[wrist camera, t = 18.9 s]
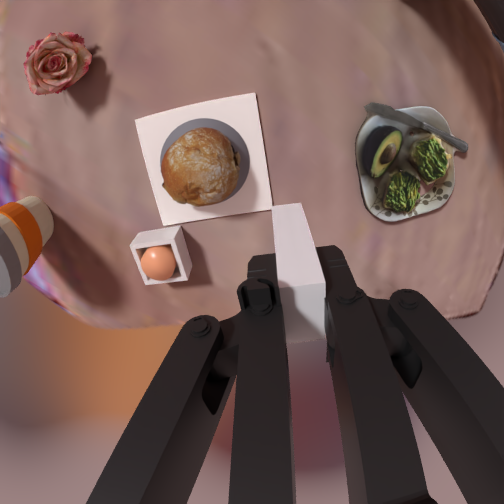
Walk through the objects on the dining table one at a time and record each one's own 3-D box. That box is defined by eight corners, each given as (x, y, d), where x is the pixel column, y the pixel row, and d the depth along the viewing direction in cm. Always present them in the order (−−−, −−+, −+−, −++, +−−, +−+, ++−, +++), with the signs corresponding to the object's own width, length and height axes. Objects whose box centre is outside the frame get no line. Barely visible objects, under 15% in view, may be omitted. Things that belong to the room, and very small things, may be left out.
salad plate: (455, 93, 30) (474, 96, 26) (462, 200, 38) (478, 211, 34) (342, 105, 33) (353, 107, 29) (363, 224, 42) (373, 239, 38)
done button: (142, 243, 41) (135, 253, 39) (173, 238, 41) (167, 248, 38) (153, 270, 44) (147, 282, 41) (182, 267, 43) (178, 278, 41)
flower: (34, 101, 29) (28, 107, 24) (26, 48, 23) (18, 44, 18) (92, 79, 33) (96, 81, 28) (86, 26, 27) (89, 18, 22)
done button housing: (138, 232, 42) (129, 245, 39) (180, 225, 42) (174, 238, 38) (152, 270, 46) (145, 284, 42) (192, 265, 45) (187, 280, 42)
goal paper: (135, 119, 33) (134, 120, 33) (255, 92, 32) (255, 92, 32) (164, 224, 42) (163, 226, 41) (272, 208, 40) (272, 209, 40)
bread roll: (243, 178, 41) (265, 182, 34) (183, 218, 40) (193, 231, 33) (208, 119, 37) (224, 110, 30) (144, 159, 35) (145, 159, 28)
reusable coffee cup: (38, 258, 45) (-4, 306, 32) (5, 207, 39) (-45, 246, 27) (73, 232, 42) (24, 285, 29) (36, 172, 36) (-25, 211, 24)
